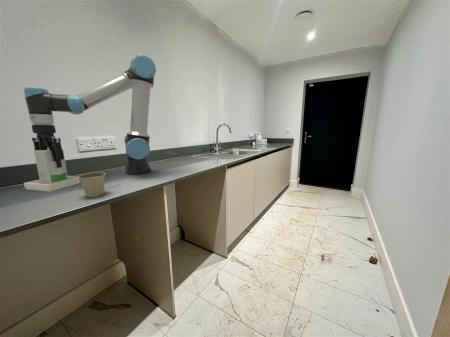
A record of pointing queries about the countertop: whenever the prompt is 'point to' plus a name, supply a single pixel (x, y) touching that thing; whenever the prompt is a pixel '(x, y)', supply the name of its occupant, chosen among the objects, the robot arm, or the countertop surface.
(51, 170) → the skincare box
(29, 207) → the countertop surface
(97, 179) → the flower pot
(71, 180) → the tray
